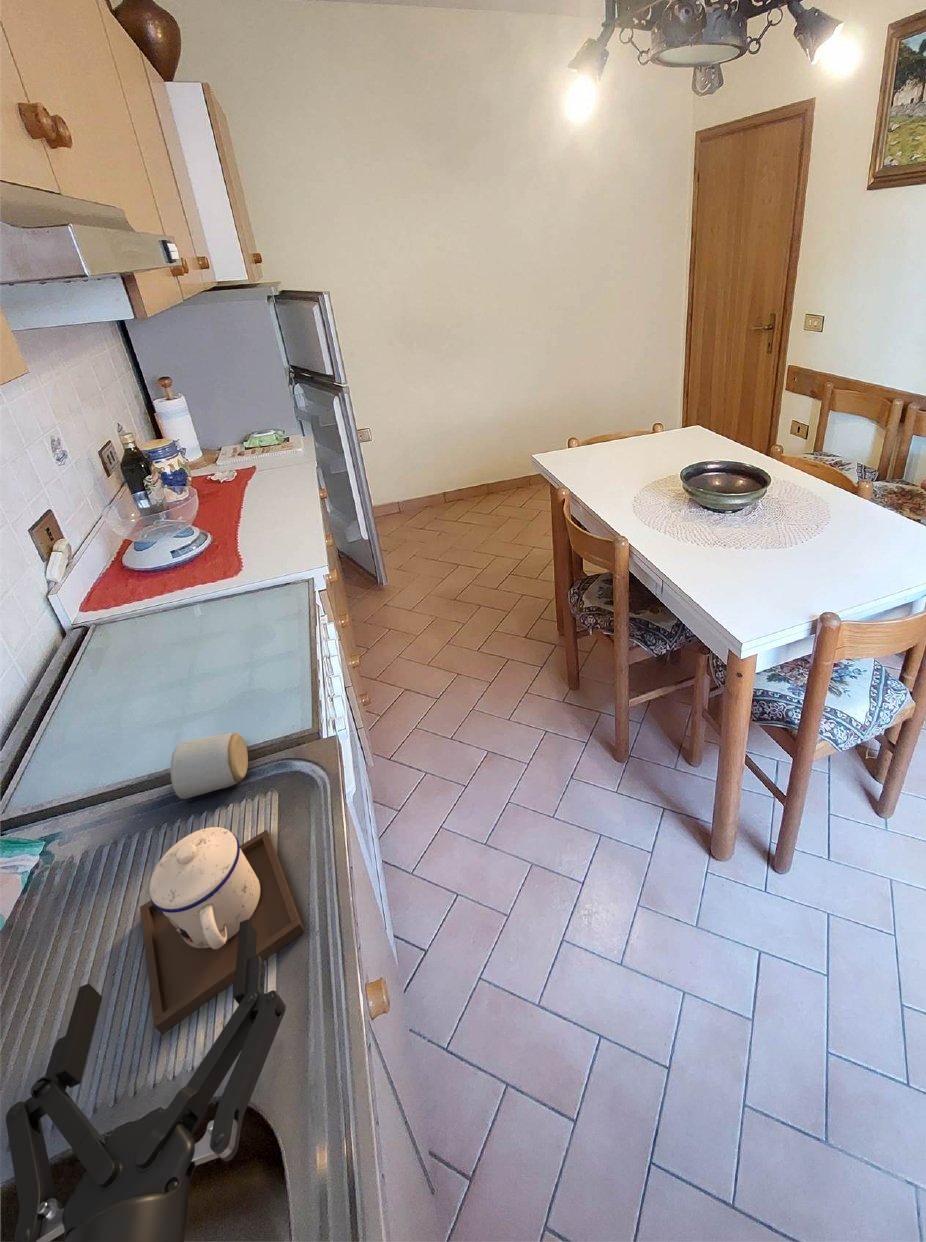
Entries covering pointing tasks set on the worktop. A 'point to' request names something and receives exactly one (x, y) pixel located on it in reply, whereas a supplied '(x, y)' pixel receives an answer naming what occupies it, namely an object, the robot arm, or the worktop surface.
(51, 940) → the worktop surface
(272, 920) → the rectangular tray
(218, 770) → the ceramic mug
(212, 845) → the teacup with lid
